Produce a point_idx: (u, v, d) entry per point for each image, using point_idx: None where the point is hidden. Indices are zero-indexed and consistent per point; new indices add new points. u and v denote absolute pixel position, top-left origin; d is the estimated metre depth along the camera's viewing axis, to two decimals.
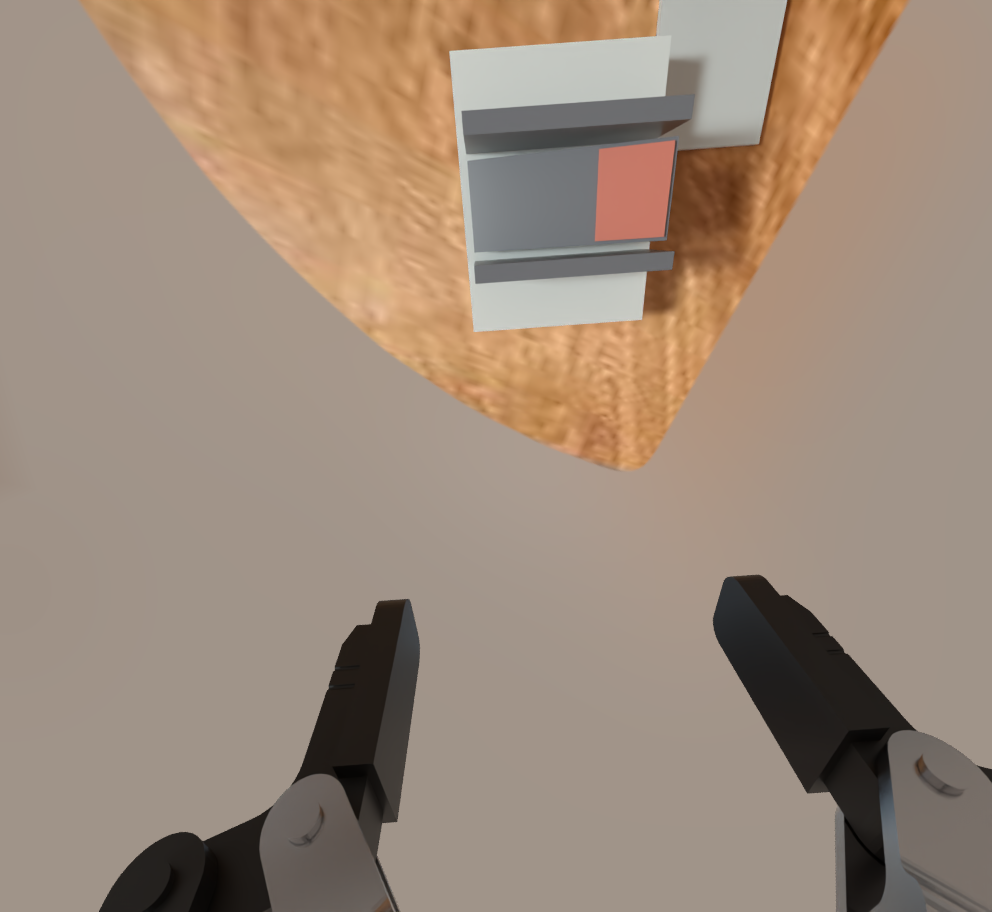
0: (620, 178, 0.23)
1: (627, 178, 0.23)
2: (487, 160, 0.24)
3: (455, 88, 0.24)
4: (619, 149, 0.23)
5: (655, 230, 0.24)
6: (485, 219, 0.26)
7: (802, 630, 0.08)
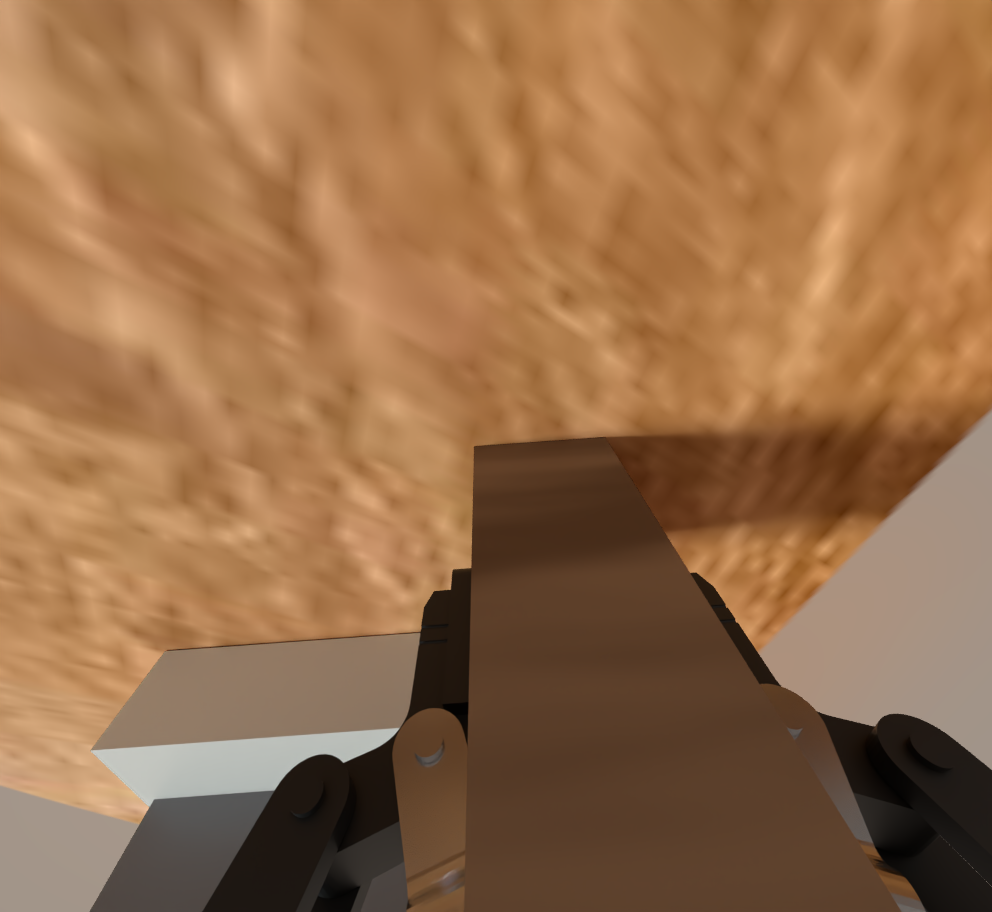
0: None
1: None
2: None
3: (118, 772, 0.16)
4: None
5: None
6: None
7: None
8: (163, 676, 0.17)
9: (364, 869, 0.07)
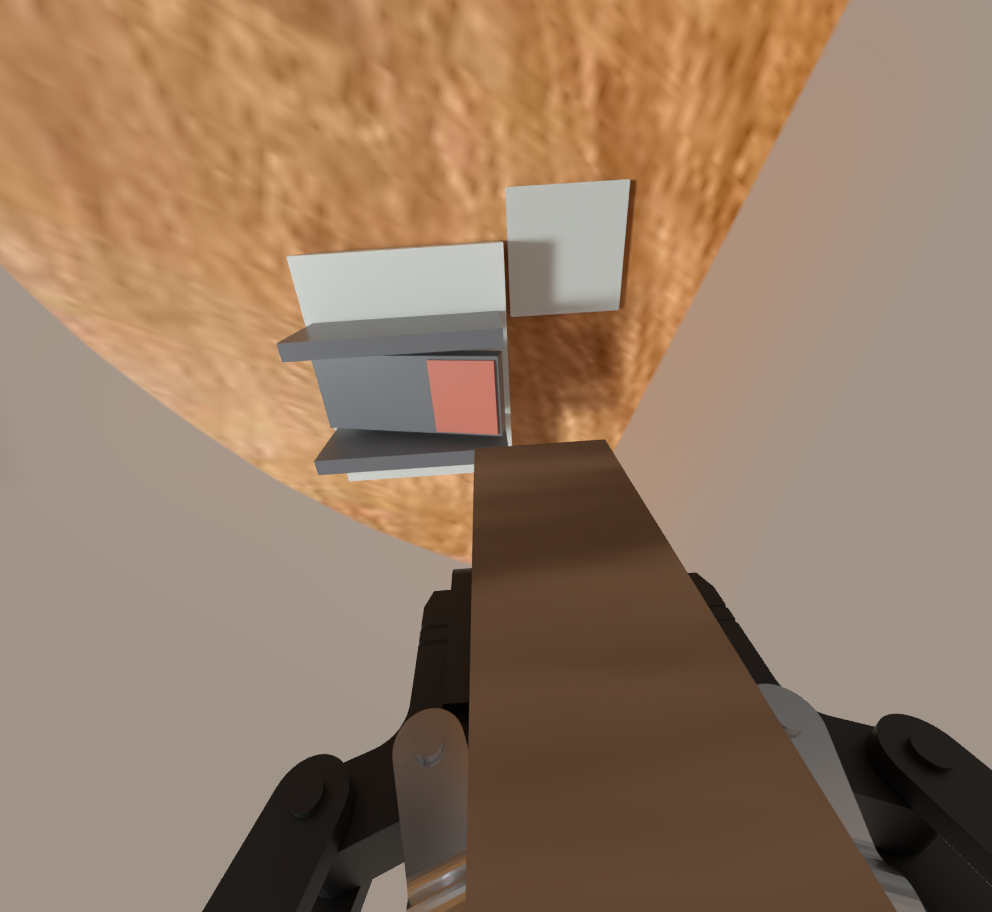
0: (450, 385, 0.24)
1: (456, 385, 0.24)
2: None
3: (297, 286, 0.25)
4: (444, 362, 0.23)
5: (489, 428, 0.25)
6: (335, 402, 0.27)
7: None
8: (315, 253, 0.27)
9: (364, 869, 0.07)
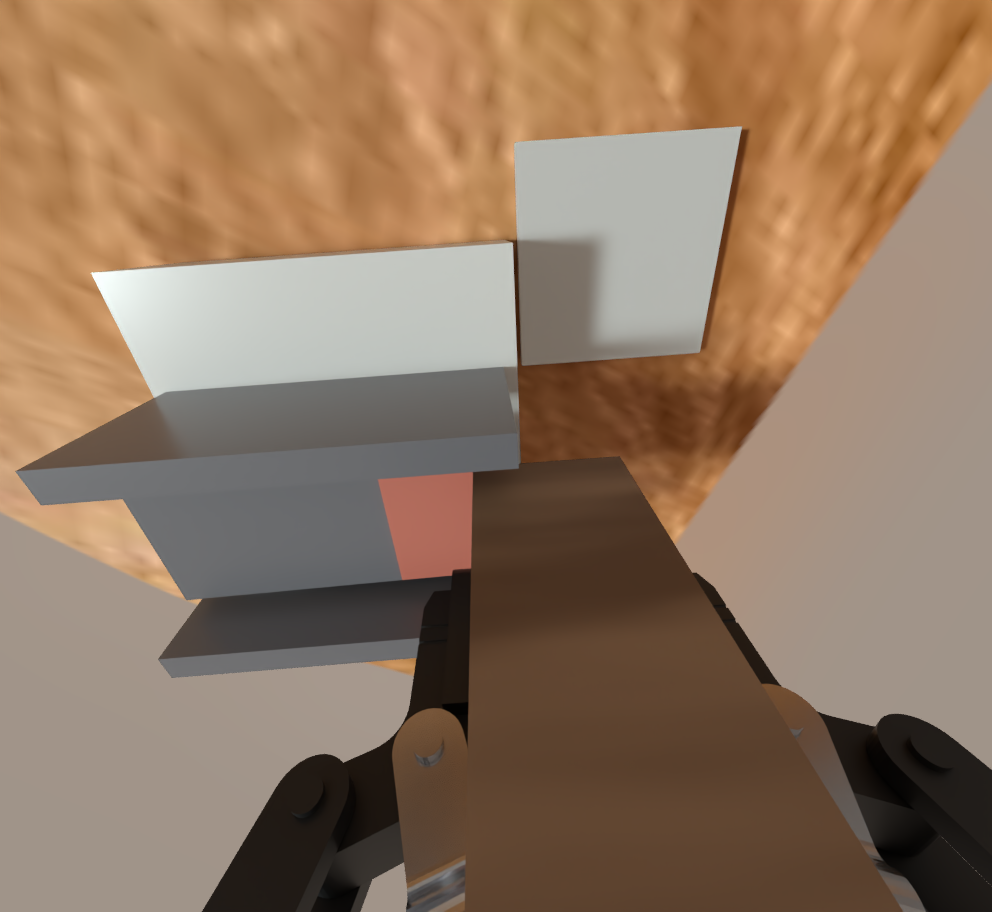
0: (425, 506, 0.13)
1: (437, 505, 0.13)
2: None
3: (124, 327, 0.13)
4: None
5: None
6: (188, 559, 0.14)
7: None
8: (173, 264, 0.15)
9: (364, 869, 0.07)
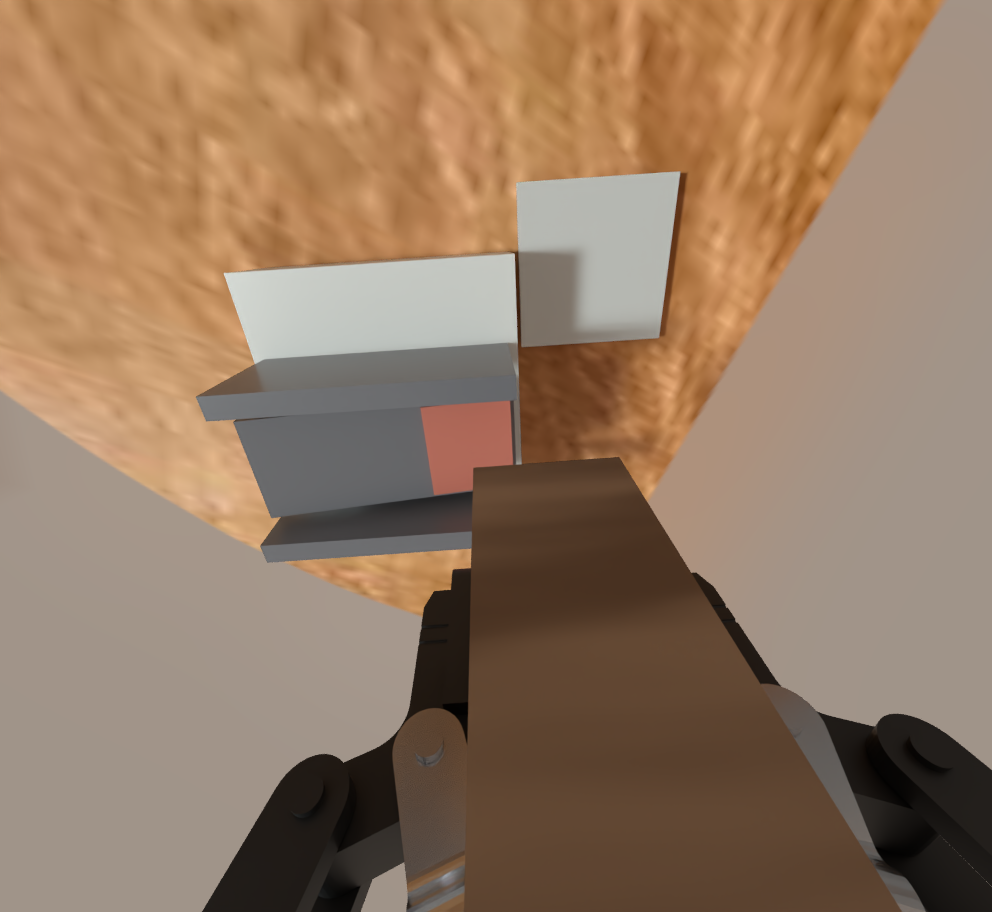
0: (452, 435, 0.19)
1: (461, 434, 0.19)
2: (265, 421, 0.17)
3: (241, 311, 0.19)
4: (445, 407, 0.18)
5: None
6: (278, 482, 0.19)
7: None
8: (269, 268, 0.20)
9: (363, 868, 0.07)
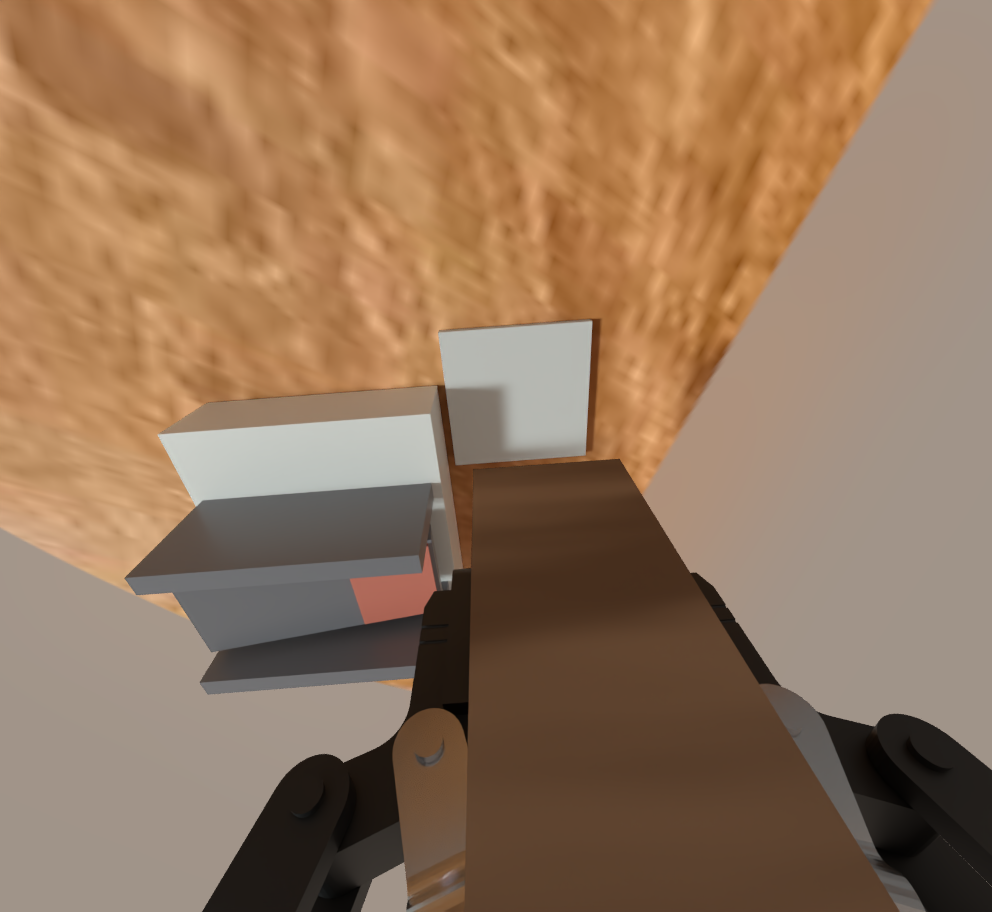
0: (377, 578, 0.20)
1: (385, 576, 0.20)
2: None
3: (177, 464, 0.20)
4: None
5: None
6: (214, 625, 0.20)
7: None
8: (207, 410, 0.22)
9: (364, 868, 0.07)
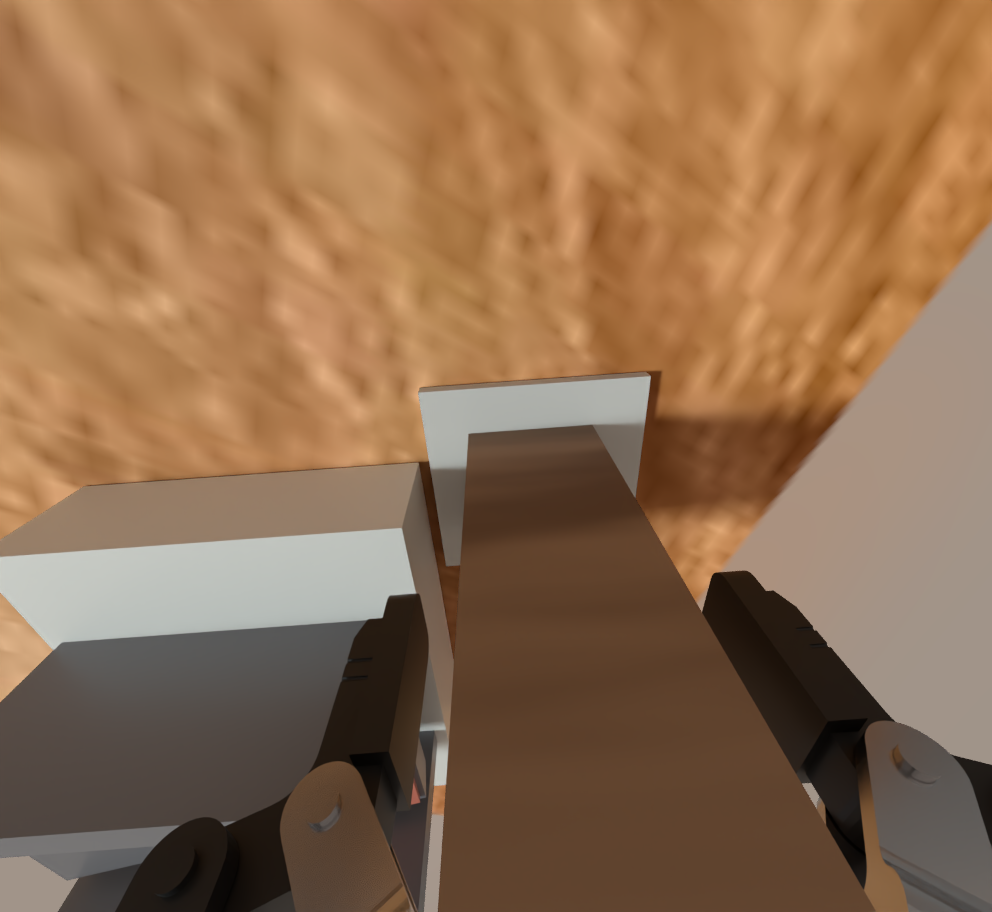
0: None
1: None
2: None
3: (11, 597, 0.13)
4: None
5: None
6: None
7: (786, 624, 0.08)
8: (75, 503, 0.15)
9: None
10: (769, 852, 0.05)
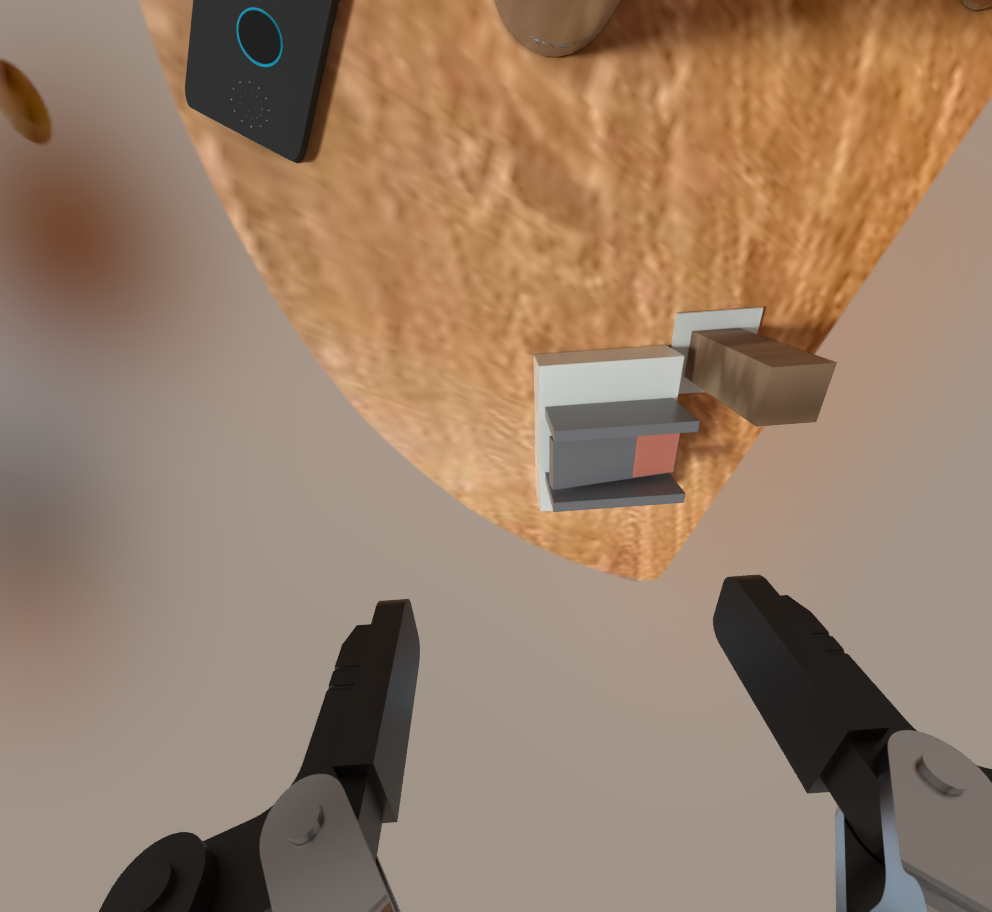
0: (650, 446, 0.37)
1: (654, 445, 0.37)
2: (567, 441, 0.35)
3: (541, 383, 0.37)
4: None
5: (668, 469, 0.38)
6: (562, 471, 0.37)
7: (802, 630, 0.08)
8: (543, 357, 0.38)
9: None
10: (820, 361, 0.28)
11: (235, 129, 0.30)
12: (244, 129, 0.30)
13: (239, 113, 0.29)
